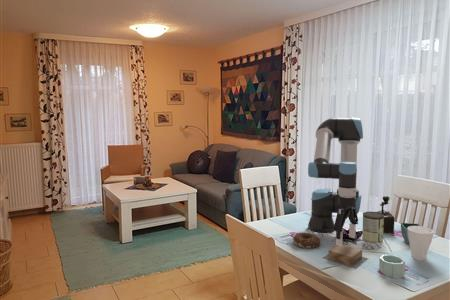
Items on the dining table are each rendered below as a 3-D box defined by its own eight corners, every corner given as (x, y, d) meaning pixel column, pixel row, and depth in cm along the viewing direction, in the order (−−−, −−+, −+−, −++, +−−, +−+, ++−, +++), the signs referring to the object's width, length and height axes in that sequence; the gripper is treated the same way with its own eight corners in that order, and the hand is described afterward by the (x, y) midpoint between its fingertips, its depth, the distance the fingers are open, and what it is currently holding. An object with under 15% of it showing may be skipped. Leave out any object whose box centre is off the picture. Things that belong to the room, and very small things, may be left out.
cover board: (328, 258, 157) (328, 250, 157) (339, 251, 165) (339, 243, 165) (351, 265, 150) (351, 257, 149) (362, 257, 157) (362, 249, 157)
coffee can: (361, 235, 187) (362, 210, 185) (381, 237, 183) (383, 212, 182) (362, 242, 177) (363, 216, 175) (384, 244, 174) (385, 218, 172)
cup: (431, 264, 151) (433, 235, 150) (405, 259, 157) (406, 231, 155) (432, 255, 160) (433, 228, 158) (406, 251, 166) (408, 224, 164)
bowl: (376, 272, 144) (377, 259, 143) (384, 265, 151) (384, 252, 150) (399, 280, 138) (399, 266, 137) (406, 272, 144) (407, 258, 144)
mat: (322, 259, 158) (322, 258, 158) (336, 250, 168) (336, 248, 168) (355, 270, 147) (355, 268, 147) (368, 259, 157) (368, 258, 157)
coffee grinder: (395, 233, 188) (397, 202, 186) (374, 232, 190) (375, 201, 188) (387, 224, 204) (388, 195, 201) (368, 223, 206) (369, 194, 204)
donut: (287, 245, 175) (287, 235, 175) (302, 237, 185) (302, 229, 184) (312, 253, 165) (312, 243, 165) (326, 245, 175) (326, 235, 174)
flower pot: (423, 246, 171) (424, 229, 170) (404, 245, 173) (405, 228, 172) (417, 239, 179) (418, 223, 178) (399, 238, 181) (400, 222, 180)
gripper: (342, 202, 142) (341, 251, 145) (366, 192, 160) (365, 236, 162) (326, 199, 148) (324, 246, 150) (351, 190, 165) (349, 232, 167)
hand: (345, 241), depth 156 cm, fingers open, 13 cm apart
